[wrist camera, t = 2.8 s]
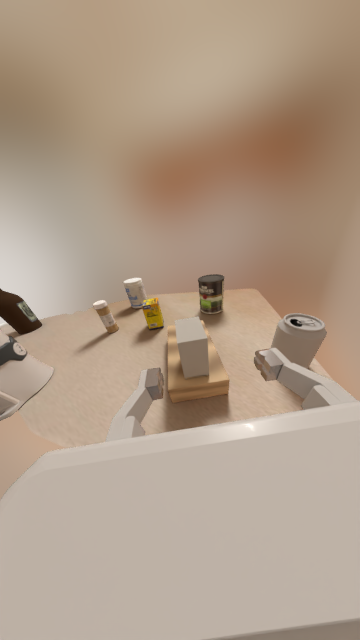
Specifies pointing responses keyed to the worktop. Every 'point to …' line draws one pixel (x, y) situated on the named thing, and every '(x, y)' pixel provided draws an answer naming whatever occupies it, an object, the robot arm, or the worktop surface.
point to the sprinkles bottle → (106, 316)
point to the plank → (197, 386)
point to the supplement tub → (135, 292)
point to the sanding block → (192, 347)
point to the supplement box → (153, 313)
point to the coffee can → (211, 293)
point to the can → (299, 338)
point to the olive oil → (17, 313)
